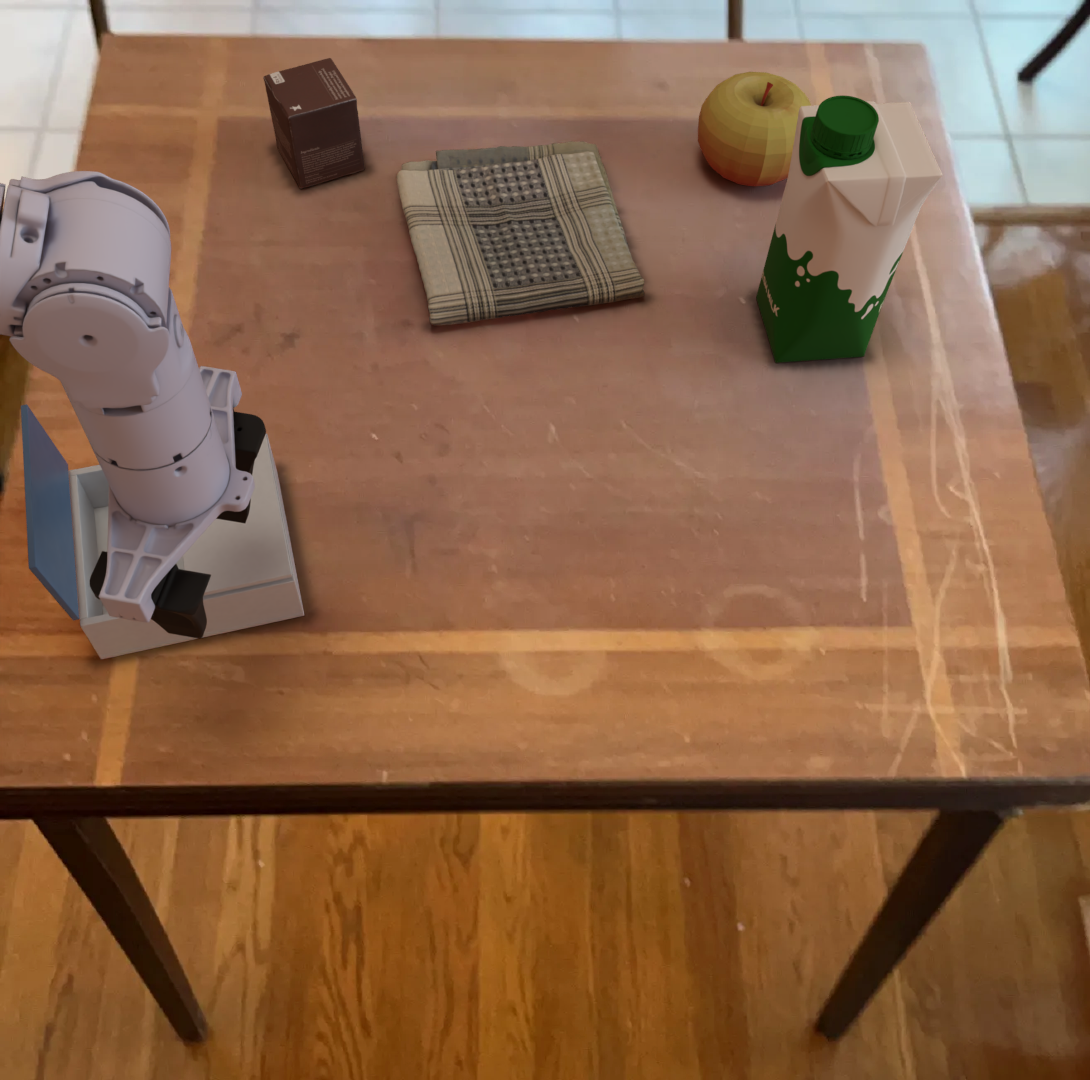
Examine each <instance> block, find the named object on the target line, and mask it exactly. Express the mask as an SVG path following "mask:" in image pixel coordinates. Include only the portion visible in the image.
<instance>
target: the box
mask: <svg viewBox="0 0 1090 1080" xmlns="http://www.w3.org/2000/svg"><path fill="white" fill-rule="evenodd" d="M262 78H263V83H264V86H265V92H266V97H267V103H268V106H269V111H270V117H271V122H272V126H273V131H274V137H275V142H276V148H277V150H278V152H279V153H280V155H281V157H282V159H283V161H284V162H285V164H286V166H287V168H288V169H289V172H290V173H291V175H292V176H293V179H294V180H295V182H296V183H297V186H298V187H299V188H300V189H305V188H308V187H312V186H315V185H320V184H322V183H325V182H329V181H332V180H335V179H338V178H341V177H345V176H348V175H353V174H356V173H359V172H363V171H364V170H365V168H366V166H365V160H364V158H365V157H364V150H363V143H362V142H363V141H362V134H361V127H360V117H359V110H358V100H357V97H356V94H355V93H354V92H353V90H352V88H351V87H350V85H349V84H348V82H347V81H346V79H345V77H344V76H343V75H342V72H341V71H340V69H339V68H338V67H337V65H336V63H335V62H334V60H333V59H332V58H331V57H328V58H324V59H320V60H316V61H313V62H309V63H305V64H302V65H298V66H294V67H290V68H287V69H283V70H277V71H274V72H271V73H269V74H266V75H263V77H262Z"/></svg>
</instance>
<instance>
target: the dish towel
mask: <svg viewBox="0 0 1090 1080" xmlns="http://www.w3.org/2000/svg"><path fill="white" fill-rule="evenodd" d="M599 151H600V150H599V148H598V145H597V144H596V143H589V142H587V141H583V140H580V141H573V140H571V141H566V142H559V143H558V142H554V143H550V144H539V145H531V146H529V145H528V146H519V145H518V146H517V145H513V146H505V145H504V146H503V145H500V146H496V147H486V148H483V147H482V148H472V149H471V148H470V149H441V150H436V151H435V158H436V160H429V159H427V160H426V159H425V160H421V161H420V160H419V161H407V162H405V163H403V164H401V168H400V169H401V170H399V171H397V174H396V184H397V189H398V194H399V200H400V202H401V209H402V211H403V214H404V217H405V220H406V223H407V227H408V231H409V232H408V234H409V237H410V243H411V245H412V247H413V252H414V253H413V254H414V255H415V257H416V262H417V265H418V270H419V272H420V275H421V281H422V283H423V289H424V292H425V295H426V301H427V305H428V306H427V310H428V312H429V318H428V319H429V324H430V325H432V326H450V325H460V324H467V323H471V322H479V321H485V320H495V319H500V318H506V317H513V316H521V315H531V314H535V313H543V312H546V311H555V310H561V309H564V310H566V309H571V308H580V307H586V306H593V305H601V304H608V303H615V302H619V301H626V300H629V299H638V298H642V297H645V295H646V292H645V289H644V286H645V279H644V278H643V276H642V275H641V274H640V271H639V269H638V267H637V265H636V263H635V261H634V259H633V256H632V253H631V250H630V247H629V243H628V240H627V237H626V233H625V229H624V227H623V224H622V220H621V218H620V214H619V211H618V208H617V204H616V201H615V198H614V194H613V190H612V188H611V185H610V180H609V178H608V173H607V171H606V168H605V165H604V163H603V161H602V157H601V155H600V152H599Z"/></svg>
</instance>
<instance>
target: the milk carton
mask: <svg viewBox="0 0 1090 1080" xmlns="http://www.w3.org/2000/svg"><path fill="white" fill-rule="evenodd" d="M930 145H931V144H930V143H929V141H928V138H927V136H926V135H925V132H924V130H923V128H922V126H921V123H920V120H919V119H918V116H917V115H916V112H915V110H914V108H913V105H912V103H911V102H910V101H900V102H880V103H879V102H877V103H876V102H875V101H872V100H871V101H868V100H867V101H866V100H863V99H862V98H859V97H855V96H852V95H834V96H830V97H828V98H826V99H824V100H823V101H821V103H820V104H814V105H811V106H801V107H800V108H799V114H798V120H797V126H796V133H795V139H794V145H793V151H792V157H791V163H790V169H789V174H788V178H786V179H787V180H786V183H785V187H784V189H783V190H784V191H783V194H782V197H781V202H780V206H779V210H778V213H777V216H776V221H775V225H774V228H773V232H772V235H771V240H770V243H769V247H768V250H767V254H766V258H765V263H764V266H763V270H762V273H761V277H760V281H759V285H758V288H757V292H756V296H755V298H756V302H757V307H758V309H759V312H760V316H761V319H762V322H763V325H764V329H765V333H766V335H767V336H766V337H767V339H768V342H769V344H770V345H769V346H770V349H771V352H772V356H773V359H774V362H775V363H776V364H777V363H791V362H792V363H793V362H806V361H820V360H834V359H836V360H837V359H849V358H862V357H865V356H866V353H867V349H868V346H869V344H870V340H871V338H872V335H873V332H874V329H875V327H876V324H877V322H878V318H879V315H880V314H881V310H882V308H883V305H884V302H885V300H886V297H887V294H888V291H889V289H890V287H891V283H892V281H893V279H894V276H895V274H896V272H897V269H898V267H899V263H900V261H901V258H902V256H903V254H904V252H905V248H906V246H907V244H908V241H909V239H910V237H911V234H912V231H913V228H914V226H915V224H916V221H917V218H918V216H919V213H920V212H921V208H922V207H923V204H925V201H926V200H927V199H928V197H929V196H930V195H931V193H932V191H933V190H934V189H935V187H936V186H937V185H938V183H939V181H940V180H941V179H942V177H943V176H944V175H943V172H942V170H941V168H940V165H939V163H938V161H937V159H936V157H935V154H934V153H933V150H932V148H931V146H930Z"/></svg>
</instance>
